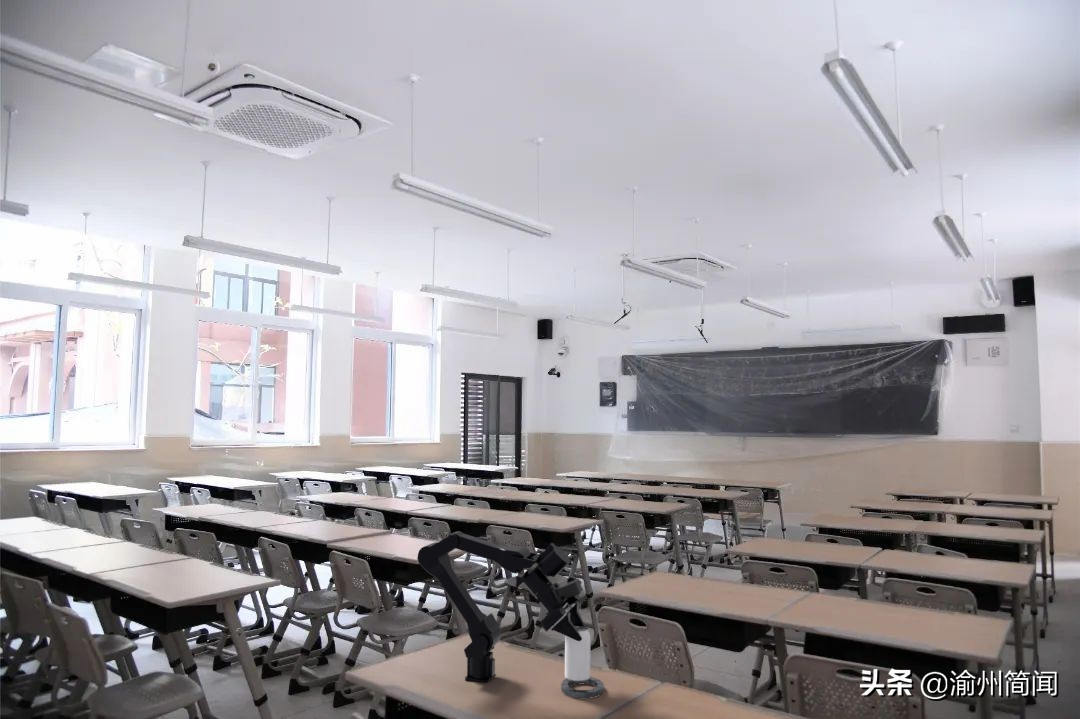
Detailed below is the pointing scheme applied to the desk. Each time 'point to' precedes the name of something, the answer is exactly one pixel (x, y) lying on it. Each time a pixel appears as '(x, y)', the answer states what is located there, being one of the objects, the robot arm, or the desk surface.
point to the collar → (583, 693)
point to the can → (578, 656)
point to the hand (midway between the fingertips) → (583, 636)
